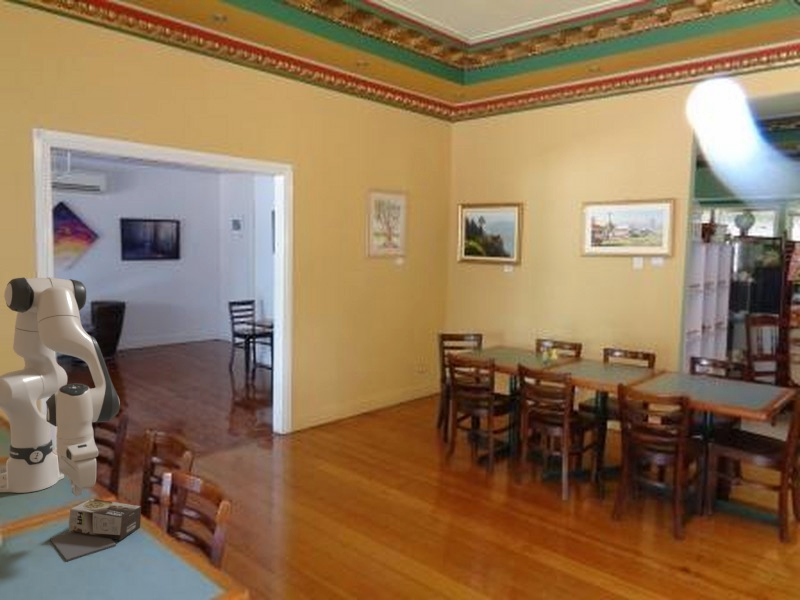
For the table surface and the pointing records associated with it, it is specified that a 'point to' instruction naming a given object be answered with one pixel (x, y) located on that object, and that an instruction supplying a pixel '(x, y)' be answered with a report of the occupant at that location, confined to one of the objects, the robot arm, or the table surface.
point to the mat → (80, 544)
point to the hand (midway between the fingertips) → (76, 494)
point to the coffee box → (105, 518)
